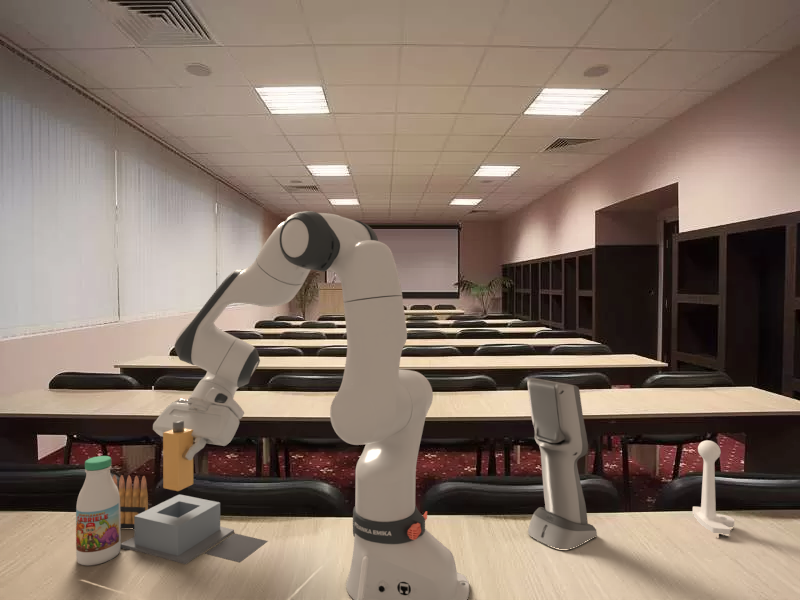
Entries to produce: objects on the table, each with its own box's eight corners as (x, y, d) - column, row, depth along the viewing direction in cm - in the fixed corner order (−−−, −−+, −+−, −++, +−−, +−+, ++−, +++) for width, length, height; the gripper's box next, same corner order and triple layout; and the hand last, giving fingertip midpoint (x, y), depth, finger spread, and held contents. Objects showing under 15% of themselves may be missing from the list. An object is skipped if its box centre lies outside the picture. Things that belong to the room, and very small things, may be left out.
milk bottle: (79, 551, 102) (79, 455, 102) (122, 543, 105) (121, 450, 105) (73, 570, 95) (72, 467, 95) (118, 561, 98) (118, 462, 98)
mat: (267, 542, 106) (267, 540, 106) (239, 563, 98) (239, 562, 98) (234, 534, 109) (234, 533, 109) (204, 554, 101) (204, 553, 101)
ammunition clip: (150, 526, 113) (150, 474, 113) (145, 530, 111) (145, 477, 111) (105, 524, 114) (105, 473, 114) (100, 528, 112) (100, 476, 112)
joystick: (687, 515, 120) (688, 433, 119) (721, 517, 118) (722, 435, 118) (708, 537, 109) (709, 447, 108) (746, 540, 107) (747, 449, 107)
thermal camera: (519, 532, 111) (520, 377, 110) (554, 517, 118) (556, 372, 118) (563, 555, 101) (565, 386, 101) (599, 537, 109) (601, 379, 108)
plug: (193, 483, 108) (193, 420, 107) (178, 491, 104) (178, 425, 104) (178, 481, 109) (178, 418, 109) (163, 488, 105) (163, 423, 105)
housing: (234, 533, 110) (234, 503, 110) (185, 565, 97) (185, 531, 97) (173, 519, 117) (172, 490, 116) (120, 547, 104) (119, 515, 103)
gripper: (167, 391, 116) (131, 443, 108) (237, 398, 109) (204, 456, 100) (182, 405, 121) (149, 457, 112) (250, 413, 113) (220, 470, 104)
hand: (176, 457), depth 106 cm, fingers closed on plug, 4 cm apart
